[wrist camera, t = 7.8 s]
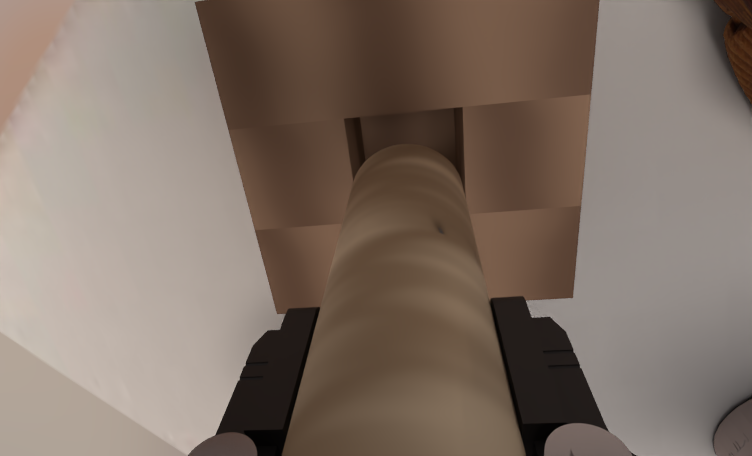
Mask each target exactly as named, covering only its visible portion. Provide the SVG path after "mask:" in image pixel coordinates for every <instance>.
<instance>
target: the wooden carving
mask: <svg viewBox="0 0 752 456" xmlns="http://www.w3.org/2000/svg"><path fill="white" fill-rule="evenodd" d="M714 1H715V2H716V3H717V5H718V6H719V7H720V8H721V9H722V10H723V11H724V12H725V13H726V14H728V15H730V16H732V17H731V19H730V20H729V22H728V23H727V25H726V27H725V30H724V34H723V36H724V39H725V47H726V51H727V56H728V58H729V60H730V63H731V66H732V68H733V70H734V73H735V76H736V77H737V79H738V82H739V84H740V86H741V87H742V89H743V90H744V93H745V95H746V96H747V97H748V99H749V100H750V103H751V105H752V0H714Z"/></svg>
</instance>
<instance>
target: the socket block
mask: <svg viewBox="0 0 752 456" xmlns="http://www.w3.org/2000/svg"><path fill="white" fill-rule="evenodd" d="M195 5H196V9H197V13H198V16H199V20H200V24H201V28H202V32H203V35H204V39H205V43H206V47H207V50H208V54H209V58H210V62H211V66H212V69H213V73H214V77H215V81H216V84H217V88H218V92H219V96H220V100H221V103H222V107H223V111H224V115H225V119H226V122H227V126H228V130H229V134H230V137H231V141H232V145H233V149H234V153H235V156H236V160H237V164H238V168H239V171H240V175H241V179H242V183H243V187H244V190H245V194H246V198H247V202H248V206H249V209H250V213H251V217H252V221H253V224H254V228H255V232H256V236H257V240H258V243H259V247H260V251H261V255H262V259H263V262H264V266H265V270H266V274H267V277H268V281H269V285H270V289H271V293H272V296H273V300H274V304H275V308H276V311H277V314H286V312H287V310H288V309H289V308H305V307H321V303H322V299H323V296H324V292H325V288H326V284H327V280H328V276H329V273H330V269H331V265H332V261H333V257H334V254H335V250H336V246H337V242H338V238H339V234H340V231H341V227H342V223H343V219H344V215H345V211H346V208H347V204H348V200H349V196H350V192H351V189H352V185H353V181H354V178H355V176H356V174H357V172H358V170H359V169H360V167H361V166H362V165H363V163H364V162H365V161H366V160H367V159H368V158H370V157H371V156H372V155H373V154H375V153H377V152H378V151H380V150H382V149H385V148H387V147H390V146H394V145H400V144H416V145H421V146H425V147H428V148H431V149H433V150H435V151H437V152H439V153H440V154H442V155H443V156H445V157H446V158H447V159H448V160H449V161H450V162H451V163H452V164H453V166H454V167H455V168H456V170H457V172H458V173H459V176H460V178H461V181H462V185H463V189H464V193H465V197H466V202H467V206H468V210H469V214H470V219H471V223H472V227H473V231H474V236H475V240H476V244H477V248H478V253H479V257H480V261H481V266H482V270H483V274H484V278H485V283H486V287H487V291H488V295H489V300H490V299H491V298H496V297H514V296H523V297H524V298H525V300H542V299H560V298H573V290H574V279H575V267H576V256H577V245H578V234H579V223H580V212H581V200H582V189H583V178H584V167H585V156H586V145H587V133H588V122H589V111H590V100H591V89H592V78H593V67H594V55H595V44H596V33H597V22H598V11H599V0H204V1H198V2H195Z"/></svg>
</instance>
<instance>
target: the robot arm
mask: <svg viewBox="0 0 752 456" xmlns="http://www.w3.org/2000/svg"><path fill="white" fill-rule="evenodd" d="M490 304H491V309H492V313H493V317H494V321H495V326H496V330H497V334H498V338H499V343H500V347H501V351H502V356H503V360H504V364H505V368H506V373H507V377H508V381H509V385H510V390H511V394H512V398H513V403H514V407H515V411H516V415H517V420H518V424H519V428H520V432H521V437H522V441H523V445H524V449H525V453H526V456H636V455H634V454H633V453H631V452H630V451H629V449H628V448H627V447H626V446H625V444H624V443H623V442H622V441H621V440H620V439H618V438H617V437H616V436H615V435H613V434H612V433H610V432H609V431H608V429H607V427H606V425H605V423H604V421H603V418H602V416H601V414H600V411H599V409H598V407H597V404H596V402H595V399H594V397H593V395H592V392H591V390H590V388H589V385H588V383H587V381H586V378H585V376H584V374H583V371H582V369H581V368H580V364H579V362H578V359H577V357H576V355H575V353H574V352H573V348H572V345H571V343H570V341H569V338H568V336H567V334H566V332H565V331H564V330H563V329H562V328H561V327H560V326H559V325H558V324H557V323H556V322H555V321H553V320H552V319H551V318H550V317H541V318H531V315H530V312H529V309H528V306H527V303H526V301H525V298H524V297H523V296H514V297H496V298H491V299H490ZM319 311H320V307H305V308H289V309H288V310H287V312H286V315H285V317H284V320H283V323H282V326H281V329H280V330H271V331H267V332H266V333H265V334H264V335H263V336H262V337H261V338H260V339H259V340H258V341H257V342H256V343H255V344H254V345H253V347H252V349H251V352H250V354H249V356H248V359H247V361H246V366H244V368H243V371H242V373H241V375H240V381H238V383H237V385H236V387H235V390H234V392H233V395H232V397H231V399H230V402H229V404H228V406H227V409H226V411H225V414H224V416H223V418H222V421H221V423H220V426H219V428H218V430H217V433H216V435H215V436H213V437H211V438H209V439H207V440H205V441H203V442H202V443H201V444H199V445H198V446H197V447H195V448H194V449H193V450H192V451H191V452H190V454H189V455H188V456H282V452H283V449H284V445H285V441H286V437H287V433H288V430H289V426H290V422H291V418H292V414H293V410H294V407H295V403H296V399H297V395H298V391H299V387H300V384H301V380H302V376H303V372H304V368H305V364H306V361H307V357H308V353H309V349H310V345H311V342H312V338H313V334H314V330H315V326H316V322H317V319H318V315H319ZM714 448H715V453H716V454H717V456H752V399H750V400H748V401H747V402H745V403H743V404H742V405H740V406H739V407H737V408H736V409H735V410H734V411H732V412H731V413H730V414H729V415H728V416H727V417H726V418H725V419H724V420H723V422H722V423H721V424H720V425H719V427H718V429H717V432H716V434H715V438H714Z"/></svg>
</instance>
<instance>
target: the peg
mask: <svg viewBox="0 0 752 456" xmlns="http://www.w3.org/2000/svg"><path fill="white" fill-rule="evenodd" d="M282 456H526V453H525V449H524V445H523V441H522V437H521V432H520V428H519V424H518V420H517V415H516V411H515V407H514V403H513V398H512V394H511V390H510V385H509V381H508V377H507V373H506V368H505V364H504V360H503V356H502V351H501V347H500V343H499V338H498V334H497V330H496V326H495V321H494V317H493V313H492V309H491V304H490V300H489V295H488V291H487V287H486V283H485V278H484V274H483V270H482V266H481V261H480V257H479V253H478V248H477V244H476V240H475V236H474V231H473V227H472V223H471V219H470V214H469V210H468V206H467V202H466V197H465V193H464V189H463V185H462V181H461V178H460V176H459V173H458V172H457V170H456V168H455V167H454V166H453V164H452V163H451V162H450V161H449V160H448V159H447V158H446V157H445V156H443V155H442V154H440V153H439V152H437V151H435V150H433V149H431V148H428V147H425V146H421V145H416V144H400V145H394V146H390V147H387V148H385V149H382V150H380V151H378V152H377V153H375V154H373V155H372V156H371V157H370V158H368V159H367V160H366V161H365V162H364V163H363V165H362V166H361V167H360V169H359V170H358V172H357V174H356V176H355V178H354V181H353V185H352V189H351V192H350V196H349V200H348V204H347V208H346V211H345V215H344V219H343V223H342V227H341V231H340V234H339V238H338V242H337V246H336V250H335V254H334V257H333V261H332V265H331V269H330V273H329V276H328V280H327V284H326V288H325V292H324V296H323V299H322V303H321V307H320V311H319V315H318V319H317V322H316V326H315V330H314V334H313V338H312V342H311V345H310V349H309V353H308V357H307V361H306V364H305V368H304V372H303V376H302V380H301V384H300V387H299V391H298V395H297V399H296V403H295V407H294V410H293V414H292V418H291V422H290V426H289V430H288V433H287V437H286V441H285V445H284V449H283V452H282Z"/></svg>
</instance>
